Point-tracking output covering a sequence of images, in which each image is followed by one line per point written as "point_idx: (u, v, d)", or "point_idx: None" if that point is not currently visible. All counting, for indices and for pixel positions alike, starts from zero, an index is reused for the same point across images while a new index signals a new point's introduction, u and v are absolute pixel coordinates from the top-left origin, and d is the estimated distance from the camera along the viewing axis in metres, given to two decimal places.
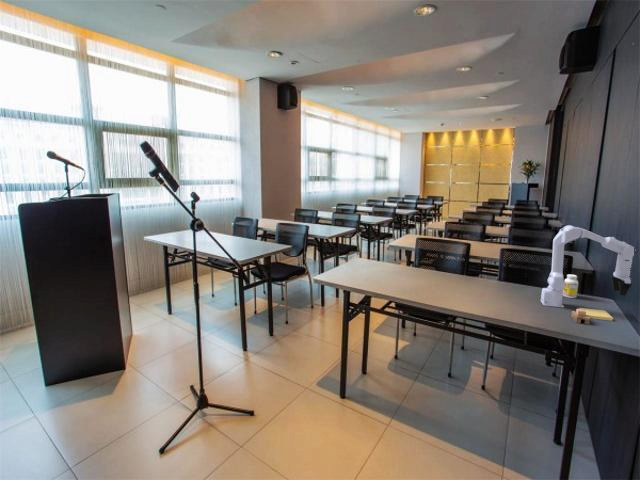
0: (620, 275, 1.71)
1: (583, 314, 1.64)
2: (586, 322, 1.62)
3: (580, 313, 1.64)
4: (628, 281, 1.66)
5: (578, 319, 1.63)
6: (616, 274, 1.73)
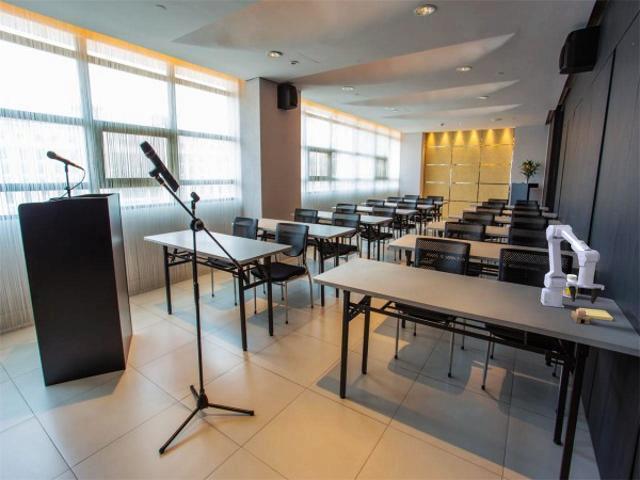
0: None
1: (583, 314, 1.64)
2: (586, 322, 1.62)
3: (580, 313, 1.64)
4: (566, 284, 1.65)
5: (578, 319, 1.63)
6: None
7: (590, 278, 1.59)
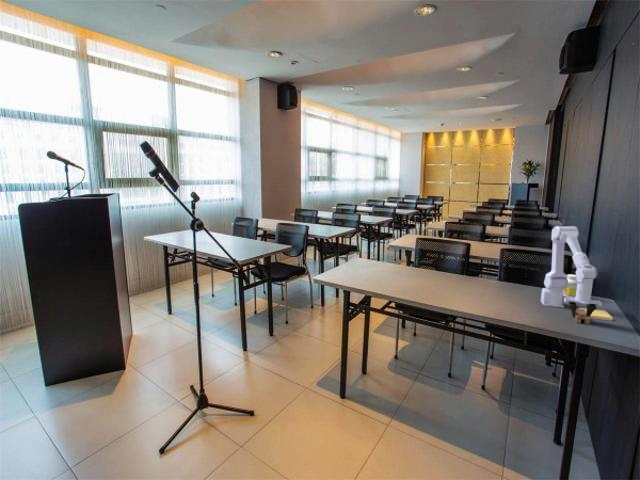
0: None
1: (583, 314, 1.64)
2: (586, 322, 1.62)
3: (580, 313, 1.64)
4: (564, 299, 1.67)
5: (578, 319, 1.63)
6: None
7: (587, 294, 1.61)
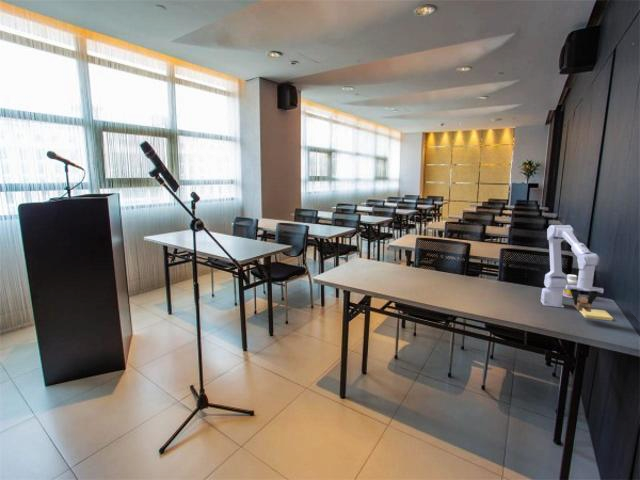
0: None
1: (585, 301, 1.62)
2: (588, 309, 1.60)
3: (582, 301, 1.63)
4: (566, 287, 1.66)
5: (580, 306, 1.61)
6: None
7: (589, 281, 1.59)
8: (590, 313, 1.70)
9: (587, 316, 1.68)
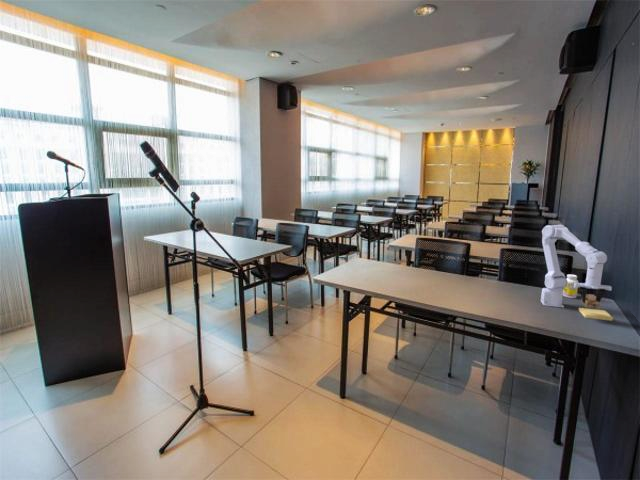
0: None
1: (593, 299, 1.65)
2: (596, 307, 1.63)
3: (590, 298, 1.66)
4: (574, 285, 1.68)
5: (588, 304, 1.64)
6: None
7: (598, 279, 1.62)
8: (590, 313, 1.70)
9: (587, 316, 1.68)
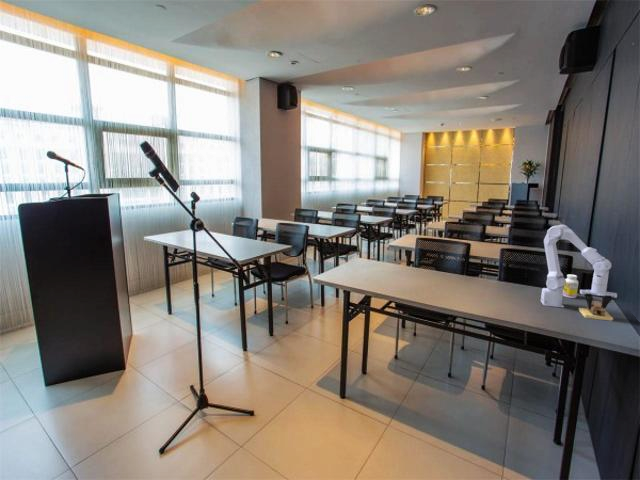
0: None
1: (599, 306, 1.69)
2: (602, 313, 1.67)
3: (595, 305, 1.69)
4: (580, 292, 1.72)
5: (594, 310, 1.68)
6: None
7: (603, 286, 1.66)
8: (590, 313, 1.70)
9: (587, 316, 1.68)
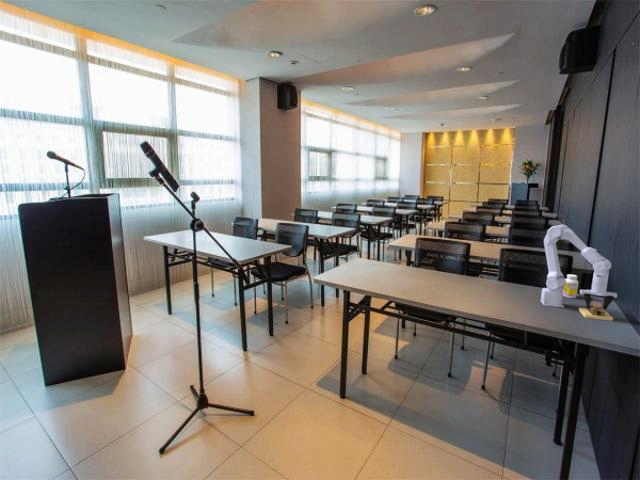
0: None
1: (598, 306, 1.69)
2: (602, 314, 1.67)
3: (595, 306, 1.69)
4: (580, 291, 1.72)
5: (594, 311, 1.68)
6: None
7: (603, 286, 1.66)
8: (590, 313, 1.70)
9: (587, 316, 1.68)
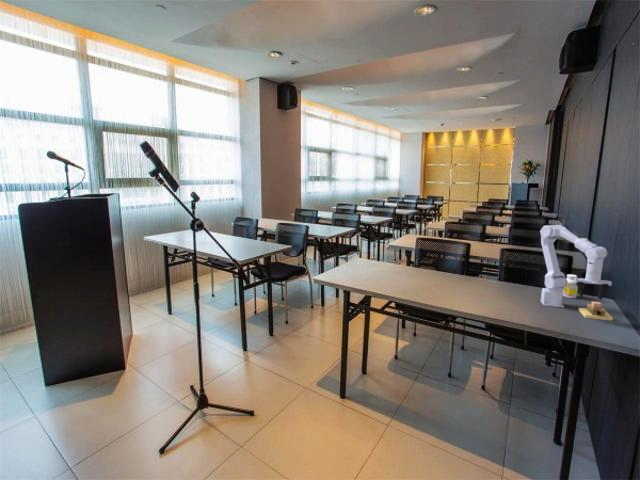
0: None
1: (598, 306, 1.69)
2: (602, 314, 1.67)
3: (595, 306, 1.69)
4: (574, 280, 1.68)
5: (594, 311, 1.68)
6: None
7: (598, 274, 1.62)
8: (590, 313, 1.70)
9: (587, 316, 1.68)
